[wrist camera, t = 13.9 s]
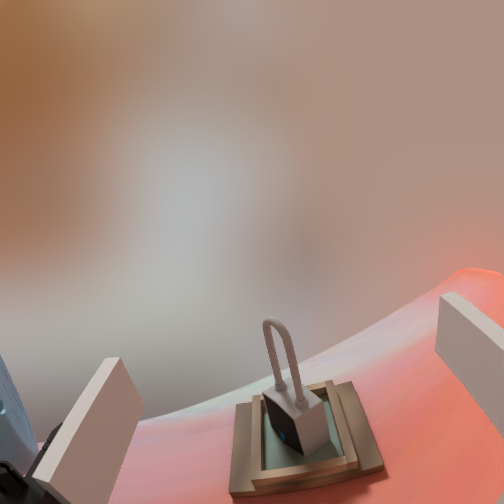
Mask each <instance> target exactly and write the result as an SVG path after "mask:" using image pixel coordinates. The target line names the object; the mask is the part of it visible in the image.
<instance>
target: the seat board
mask: <svg viewBox="0 0 504 504" xmlns="http://www.w3.org/2000/svg"><path fill="white" fill-rule="evenodd" d="M305 387H306V388H308V389H309V390H310V391H311V392H312V393H314V394H315V395H316V396H317V397H319V398H320V399H321V400H322V401H323V403H324V408H325V413H326V418H327V423H328V428H329V433H330V438H331V440H330V441H329V442H328V443H326V444H325V445H323V446H322V447H321V448H319V449H318V450H316V451H315V452H313V453H312V454H311V455H309V456H308V457H305V456H303V455H301V454H300V453H298V452H297V451H295V450H293V449H292V448H290V447H289V446H287V445H286V444H284V443H283V442H282V440H281V439H280V437H279V436H278V435H277V433H276V432H275V431H274V429H273V428H272V426H271V425H270V421H269V418H268V414H267V410H266V406H265V402H264V399H263V395H262V394H261V395H255V396H253V397H252V402H249V403H242V404H236V414H235V425H234V436H233V448H232V459H231V471H230V482H229V494H230V495H231V497H247V496H259V495H269V494H277V493H285V492H292V491H298V490H304V489H310V488H315V487H320V486H325V485H329V484H334V483H338V482H342V481H346V480H350V479H354V478H358V477H361V476H365V475H368V474H371V473H375V472H378V471H381V470H383V465H384V464H383V461H382V458H381V455H380V453H379V450H378V447H377V445H376V442H375V440H374V437H373V434H372V432H371V429H370V426H369V424H368V421H367V419H366V416H365V414H364V411H363V409H362V406H361V404H360V401H359V399H358V396H357V394H356V391H355V389H354V386H353V384H352V381H350V382H346V383H342V384H338V385H334V383H333V380H330V381H325V382H321V383H317V384H313V385H308V386H305Z"/></svg>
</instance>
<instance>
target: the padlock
mask: <svg viewBox="0 0 504 504" xmlns="http://www.w3.org/2000/svg"><path fill="white" fill-rule="evenodd" d="M270 325H272V326H273V327H274V328H276V330H277V331H278V332H279V334H280V336H281V338H282V340H283V343H284V346H285V350H286V354H287V358H288V363H289V367H290V371H291V376H292V379H291V378H289V377H288V378H286V379H284V380H282V376H281V372H280V368H279V364H278V359H277V355H276V351H275V347H274V342H273V338H272V334H271V327H270ZM263 332H264V336H265V341H266V345H267V349H268V353H269V357H270V361H271V365H272V369H273V373H274V377H275V381H276V382H275V385H274V386H272V387H271V388H269V389H267V390H265V391H263V392H262V395H263V399H264V402H265V406H266V410H267V414H268V418H269V421H270V425H271V426H272V428H273V429H274V431H275V432H276V433H277V435H278V436H279V437H280V439H281V440H282V442H283V443H284V444H286V445H287V446H289V447H290V448H292V449H293V450H295V451H297V452H298V453H300V454H301V455H303V456H305V457H308V456H309V455H311V454H312V453H313V452H315V451H316V450H318V449H319V448H321V447H322V446H323V445H325V444H326V443H328V442H329V441H330V440H331V438H330V433H329V428H328V423H327V418H326V413H325V408H324V403H323V401H322V400H321V399H320V398H319V397H317V396H316V395H315V394H314V393H312V392H311V391H310V390H309V389H308V388H306V387H305V386H304V385H302V384H301V380H300V375H299V370H298V365H297V361H296V356H295V352H294V348H293V344H292V341H291V337H290V335H289V332H288V331H287V329H286V328H285V326H284V325H283V324H282V323H281V322H280V321H279V320H278V319H276V318H274V317H267V318H265V319H264V321H263Z"/></svg>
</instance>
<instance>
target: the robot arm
mask: <svg viewBox="0 0 504 504" xmlns="http://www.w3.org/2000/svg"><path fill="white" fill-rule="evenodd" d="M435 351H436V353H437V354H438V355H439V356H440V357H441V359H442V360H443V361H444V362H445V363H446V365H447V366H448V367H449V368H450V369H451V371H452V372H453V373H454V374H455V376H456V377H457V378H458V379H459V381H460V382H461V383H462V384H463V386H464V387H465V388H466V389H467V391H468V392H469V393H470V394H471V396H472V397H473V398H474V400H475V401H476V402H477V403H478V405H479V406H480V407H481V409H482V410H483V411H484V413H485V414H486V415H487V417H488V418H489V419H490V421H491V422H492V423H493V425H494V426H495V428H496V429H497V430H498V432H499V433H500V434H501V436H502V437H503V439H504V329H502V328H501V327H500V326H499V325H498V324H496V323H495V322H494V321H493V320H491V319H490V318H489V317H488V316H486V315H485V314H484V313H482V312H481V311H480V310H479V309H477V308H476V307H475V306H473V305H472V304H471V303H470V302H468V301H467V300H466V299H464V298H463V297H462V296H460V295H459V294H458V293H456V292H455V291H453V292H450V293H447V294H444V295H440V302H439V316H438V327H437V336H436V345H435ZM144 406H145V404H144V403H143V401H142V399H141V397H140V395H139V394H138V392H137V390H136V388H135V386H134V384H133V382H132V380H131V378H130V376H129V374H128V372H127V370H126V368H125V366H124V364H123V362H122V360H121V358H120V357H116V358H106V359H105V360H104V361H103V363H102V364H101V366H100V367H99V369H98V370H97V372H96V373H95V375H94V376H93V378H92V379H91V381H90V382H89V384H88V385H87V387H86V388H85V390H84V391H83V393H82V394H81V396H80V398H79V399H78V401H77V402H76V404H75V405H74V407H73V408H72V410H71V412H70V413H69V415H68V416H67V418H66V420H65V421H64V423H61V424H60V425H58V426H57V427H56V428H55V429H54V430H53V431H52V432H51V434H50V435H49V437H48V439H47V442H45V444H44V445H43V447H42V450H40V452H39V449H38V445H37V441H36V438H35V435H34V432H33V429H32V427H31V424H30V422H29V419H28V416H27V414H26V411H25V409H24V406H23V404H22V401H21V399H20V397H19V394H18V392H17V390H16V387H15V385H14V383H13V381H12V378H11V376H10V374H9V372H8V370H7V368H6V365H5V363H4V361H3V360H2V358H1V356H0V504H108V501H109V498H110V495H111V493H112V490H113V487H114V484H115V482H116V479H117V476H118V473H119V471H120V468H121V465H122V463H123V460H124V457H125V455H126V452H127V449H128V447H129V444H130V442H131V439H132V436H133V434H134V431H135V429H136V426H137V424H138V421H139V418H140V416H141V413H142V410H143V408H144ZM25 474H26V476H25V477H23V475H25Z"/></svg>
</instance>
